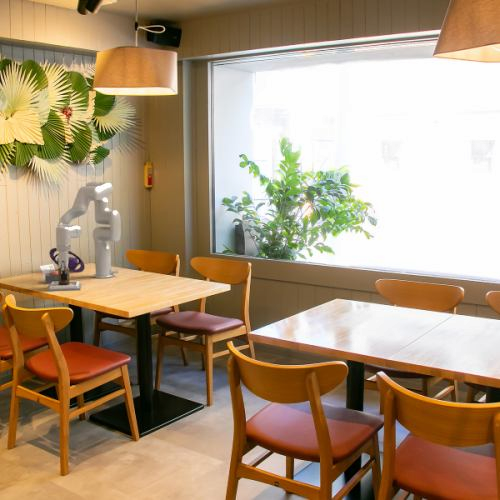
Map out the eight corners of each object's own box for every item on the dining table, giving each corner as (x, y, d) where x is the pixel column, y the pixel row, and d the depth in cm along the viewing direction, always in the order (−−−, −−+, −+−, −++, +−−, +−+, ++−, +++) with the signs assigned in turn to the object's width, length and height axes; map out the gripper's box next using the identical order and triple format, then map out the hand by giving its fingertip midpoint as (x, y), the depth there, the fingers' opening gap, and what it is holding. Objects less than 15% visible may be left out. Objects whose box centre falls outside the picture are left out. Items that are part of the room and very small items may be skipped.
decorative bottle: (68, 275, 395) (66, 236, 391) (43, 272, 403) (41, 234, 400) (91, 270, 415) (90, 233, 411) (66, 267, 423) (65, 231, 420)
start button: (59, 275, 374) (59, 270, 374) (58, 277, 369) (58, 272, 369) (50, 275, 373) (50, 270, 373) (50, 277, 368) (49, 272, 368)
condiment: (67, 282, 359) (67, 262, 358) (73, 284, 353) (73, 264, 351) (55, 284, 355) (54, 263, 353) (61, 286, 348) (60, 265, 347)
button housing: (64, 280, 378) (64, 272, 377) (63, 283, 368) (62, 275, 367) (47, 280, 376) (46, 272, 375) (45, 284, 366) (45, 275, 365)
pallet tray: (81, 284, 364) (81, 280, 364) (80, 290, 349) (80, 285, 349) (49, 285, 361) (49, 281, 360) (46, 291, 345) (46, 286, 345)
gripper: (57, 246, 359) (59, 276, 362) (55, 250, 343) (56, 282, 345) (71, 246, 361) (72, 276, 363) (69, 250, 344) (70, 281, 347)
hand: (64, 279), depth 354 cm, fingers closed on condiment, 6 cm apart
